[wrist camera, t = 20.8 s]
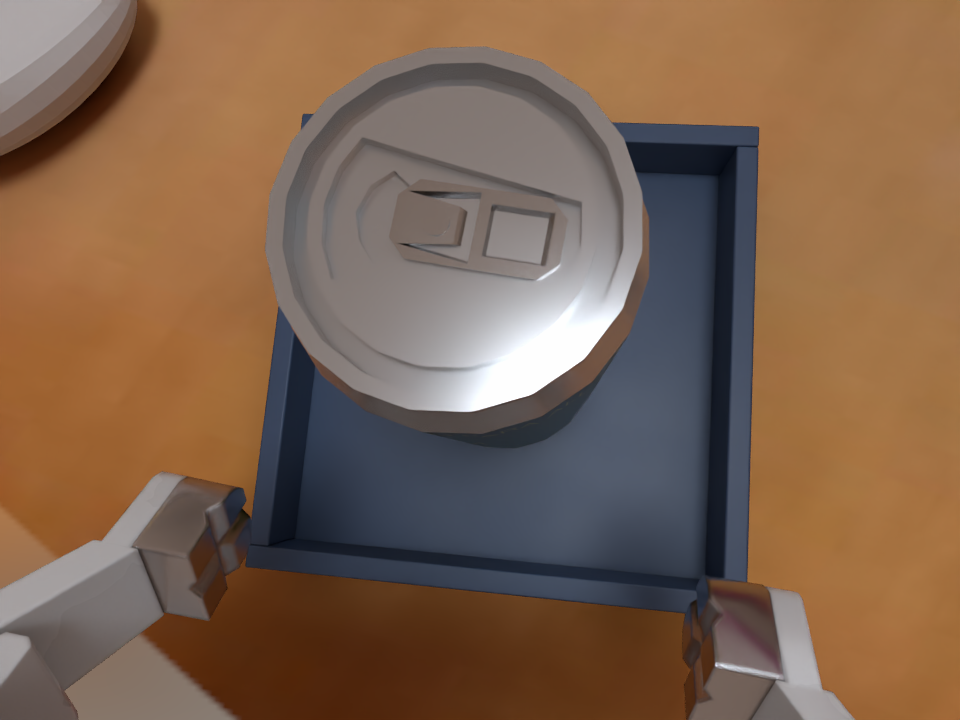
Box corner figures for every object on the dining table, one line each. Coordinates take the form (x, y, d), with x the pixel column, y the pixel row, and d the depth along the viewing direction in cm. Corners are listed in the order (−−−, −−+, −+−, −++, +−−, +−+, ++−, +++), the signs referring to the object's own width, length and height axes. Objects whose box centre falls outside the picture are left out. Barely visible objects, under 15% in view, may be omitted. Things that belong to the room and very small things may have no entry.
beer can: (609, 289, 20) (694, 54, 9) (579, 465, 20) (625, 471, 8) (438, 261, 21) (299, 8, 9) (402, 430, 20) (203, 388, 9)
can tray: (720, 599, 19) (746, 620, 17) (281, 554, 21) (244, 567, 18) (734, 166, 21) (759, 125, 19) (329, 152, 23) (302, 112, 20)
